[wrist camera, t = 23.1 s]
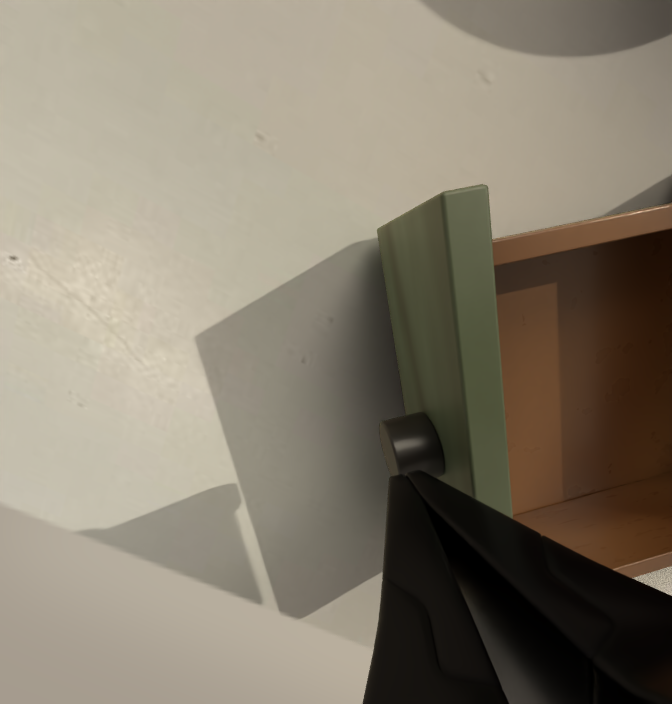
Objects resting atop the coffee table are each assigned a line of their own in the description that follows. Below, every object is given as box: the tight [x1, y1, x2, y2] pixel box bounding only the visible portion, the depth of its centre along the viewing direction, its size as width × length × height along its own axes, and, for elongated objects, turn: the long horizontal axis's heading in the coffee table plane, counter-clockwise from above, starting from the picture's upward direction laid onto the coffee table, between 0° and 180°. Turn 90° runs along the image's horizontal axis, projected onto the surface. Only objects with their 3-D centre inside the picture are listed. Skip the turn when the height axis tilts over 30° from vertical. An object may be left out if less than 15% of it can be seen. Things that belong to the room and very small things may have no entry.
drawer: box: [377, 184, 672, 578], centre depth 11 cm, size 17×14×5 cm
